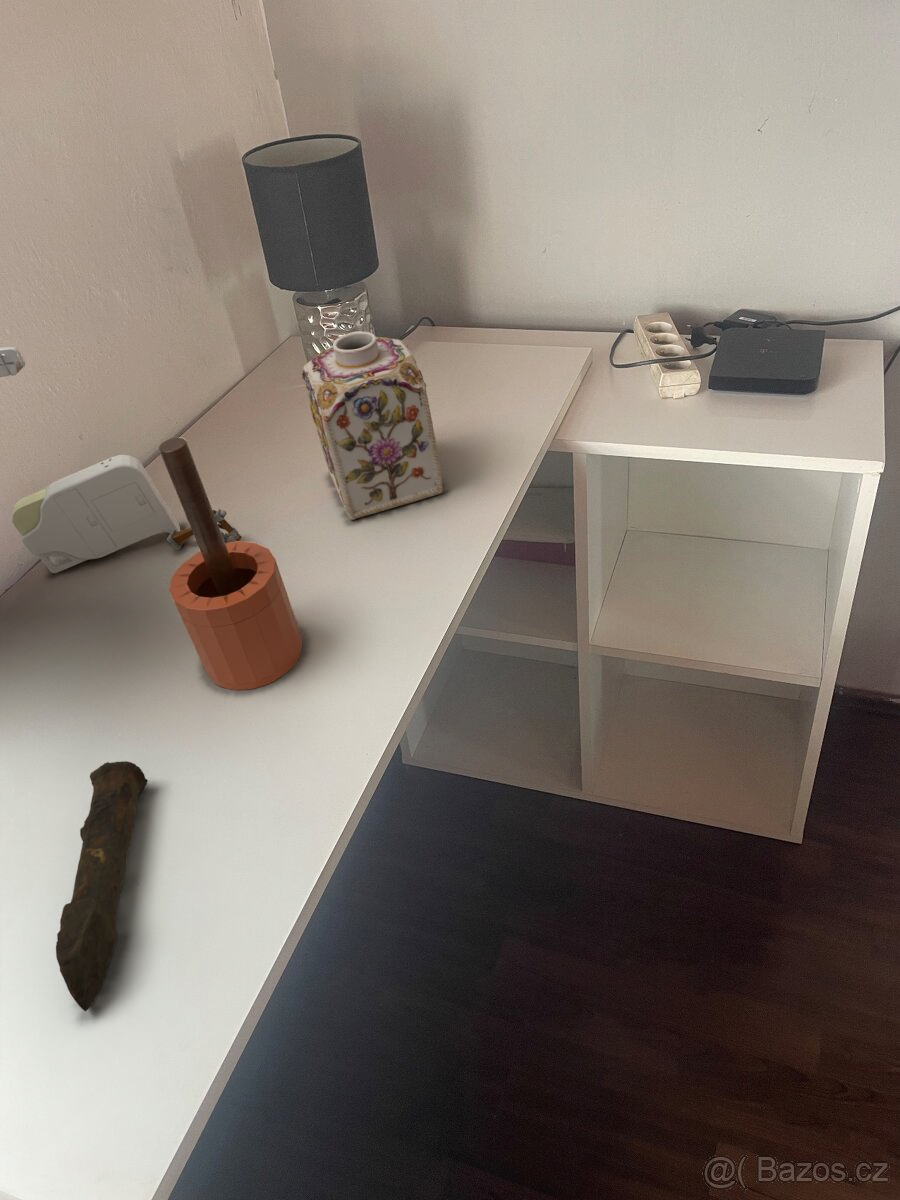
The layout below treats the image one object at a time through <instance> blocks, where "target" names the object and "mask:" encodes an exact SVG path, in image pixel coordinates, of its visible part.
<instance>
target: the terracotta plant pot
mask: <svg viewBox="0 0 900 1200" xmlns="http://www.w3.org/2000/svg"><path fill="white" fill-rule="evenodd" d="M225 544H226V547H227V549H228V552H229V555H230V557H231V560H232V563H233V565H234V568H235V570H236V573H237V576H238V578H239V581H240V583H241V586H242V588H241V589H240V590H238V591H236V592H233V593H231V594H228V595H226V596H220V597H219V595H218V593H217V591H216V588H215V586H214V583H213V581H212V578H211V576H210V573H209V571H208V568H207V566H206V564H205V561H204V559H203V556H202V554H201V551H200V550H199V552H196V554H194V555H192V556H191V557H189V558H188V559H186V560H185V561H183V563H181V564H180V566H179V567H178V568H177V569H176V571H175V572H174V573H173V574H172V576H171V579H170V583H169V587H168V588H169V589H168V591H169V593H170V595H171V598H172V600H173V602H174V604H175V607H176V609H177V611H178V613H179V616H180V618H181V620H182V622H183V624H184V625H183V626H184V627H185V629H186V631H187V633H188V635H189V636H188V637H189V638H190V640H191V643H192V644H193V647H194V649H195V652H196V654H197V656H198V657H199V660H200V662H201V664H202V666H203V668H204V671H205V674H206V675H207V677H208V679H210V680H211V681H212V683H214V684H215V685H217V686H219V687H222V688H224V689H227V690H232V691H233V690H234V691H246V690H253V689H258V688H261V687H264V686H267V685H269V684H271V683H273V682H275V681H277V680H278V679H280V678H282V677H283V676H284V675H286V674H287V673H288V672H289V671H290V670H291V669H292V668H293V667H294V666H295V665H296V663H297V662H298V659H299V658H300V656H301V653H302V650H303V639H302V636H301V634H302V633H301V630H300V627H299V625H298V622H297V619H296V616H295V613H294V610H293V607H292V604H291V602H290V601H291V600H290V599H289V595H288V591H287V589H286V586H285V583H284V580H283V577H282V574H281V572H280V569H279V566H278V563H277V560H276V558H275V556H274V555H273V553H272V551H271V550H270V549H269V548H267V547H265V546H264V545H261V544H259V543H257V542H251V541H242V540H240V541H236V540H235V541H230V542H226V543H225Z"/></svg>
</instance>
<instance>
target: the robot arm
mask: <svg viewBox="0 0 900 1200" xmlns="http://www.w3.org/2000/svg"><path fill="white" fill-rule="evenodd" d="M25 366H26V361H25V359H24V357H23V355H22V353H21V351H20V350H19V348H17V347H15V346H6V347H0V378H4V377H9V376H11V377H12V376H13V377H14V376H16V375H18V373H19V372H20V371H22V369H24V368H25Z"/></svg>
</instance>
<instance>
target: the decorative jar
mask: <svg viewBox="0 0 900 1200" xmlns="http://www.w3.org/2000/svg"><path fill="white" fill-rule="evenodd" d="M301 375H302V376H301V379H302V380H303V381H304V385H305V390H306V395H307V399H308V403H309V407H310V413H311V416H312V417H311V418H312V420H313V422H314V425H315V427H316V432H317V436H318V439H319V443H320V446H321V450H322V453H323V457H324V459H325V464H326V466H327V469H328V470H327V471H328V473H329V475H330V478H331V480H332V482H333V485H334V487H335V489H336V492H337V495H338V497H339V499H340V501H341V504H342V506H343V509H344V510H345V513H346V515H347V518H348V519H349V520H350V521H354V520H357V519H359V518H363V517H366V516H370V515H374V514H376V513H380V512H383V511H387V510H391V509H394V508H397V507H398V508H399V507H400V506H405V505H408V504H412V503H415V502H419V501H421V500H425V499H426V498H427V499H428V498H431V497H434V496H437V495H441V494H442V493H443V477H442V472H441V465H440V458H439V451H438V446H437V440H436V435H435V431H434V423H433V418H432V413H431V408H430V402H429V398H428V397H429V396H428V394H427V384H426V382H425V381H424V377H423V373H422V371H421V370H420V368H419V367H418V364H417V361H416V358H415V356H414V354H413V352H412V351H411V349H410V348H409V345H407V344H406V343H405V342H404V341H403V340H402V339H397V338H390V337H382V336H376V334H374V333H372V332H369V331H358V330H357V331H352V332H348V333H345V334H343V335H341V336H340V337H338V338H336V339H335V340H334V342H333V345H331V346H328V347H327V348H326V349H324V350H322V351H320V353H318V354H317V355H315V356H314V357H313V358H312V359H310V360H309V361H308V362H307V363H306V364H304V366H303V368H302V373H301Z"/></svg>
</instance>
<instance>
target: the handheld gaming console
mask: <svg viewBox="0 0 900 1200" xmlns="http://www.w3.org/2000/svg"><path fill="white" fill-rule="evenodd" d="M12 509H13V510H12V519H11V520H12V524H13V526H14V528H15V529H16V531H18V533H19V534H20V536H21V542H22V543H23V544H24V546H25V547H26V548H27V550H28V551H29V552H30V553H31V554H32V555H34V556H37V557H38V558H39V559H40V561H41V562H42V563H43V564H44V566H45V567H46V568H47V569H48V571H49V572H50V573H52V574H57V573H60V572H62V571H64V570H67V569H69V568H72V567H75V566H76V565H78V564H81V563H83V562H85V561H88V560H96V559H100V558H103V557H105V556H108V555H110V554H112V553H114V552H117V551H120V550H121V549H124V548H126V547H129V546H131V545H134V544H136V543H138V542H141V541H143V540H145V539H147V538H149V537H152V536H155V535H156V534H157V535H158V534H160V533H169V534H170V533H171V531H172V530H174V529H175V530H176V531H177V532H178V531H181V526H180V523H179V521H178V520H177V519H176V517H175V516H174V514H173V513H172V510H171V509H170V508H169V506H168V504H167V503H166V501H165V499H164V497H163V496H162V495H161V493H160V491H159V490H158V488H157V487H156V485H155V483H154V481H153V480H152V479H151V477H150V475H149V473H148V472H147V470H146V469H145V467H144V466H143V464H142V462H141V461H139V460H138V459H137V458H135V457H133V456H131V455H129V454H119V455H118V454H117V455H114V456H111V457H109V458H107V459H104V460H102V461H100V462H97V463H94V464H92V465H90V466H88V467H86V468H83V469H81V470H79V471H75V472H74V473H71V474H69V475H66V476H64V477H62V478H59V479H56V480H55V481H53V482H51V483H50V484H48V486H46V487H45V488H43V489H40V490H38V491H36V492H34V493H32V494H28V495H26V496H24V497H21V498H20V499H19V500H18V501H16V503H15V505H14V506H13V508H12ZM55 556H56V557H55Z"/></svg>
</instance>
